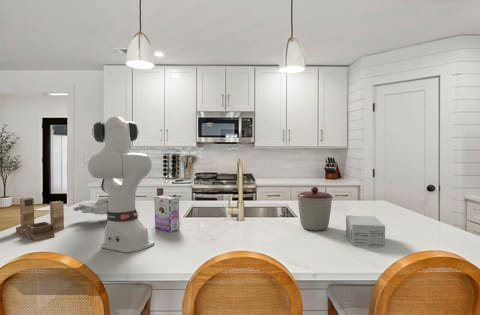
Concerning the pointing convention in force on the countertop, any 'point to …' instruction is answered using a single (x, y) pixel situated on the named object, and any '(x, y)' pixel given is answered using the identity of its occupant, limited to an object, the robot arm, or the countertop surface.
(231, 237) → the countertop surface
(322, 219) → the canister
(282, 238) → the countertop surface
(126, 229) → the robot arm
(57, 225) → the light wood tall block
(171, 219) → the candy box
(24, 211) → the wooden block stack
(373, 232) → the supplement box
